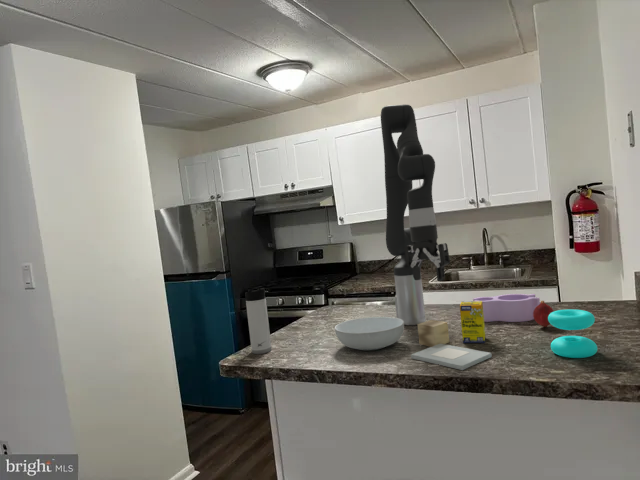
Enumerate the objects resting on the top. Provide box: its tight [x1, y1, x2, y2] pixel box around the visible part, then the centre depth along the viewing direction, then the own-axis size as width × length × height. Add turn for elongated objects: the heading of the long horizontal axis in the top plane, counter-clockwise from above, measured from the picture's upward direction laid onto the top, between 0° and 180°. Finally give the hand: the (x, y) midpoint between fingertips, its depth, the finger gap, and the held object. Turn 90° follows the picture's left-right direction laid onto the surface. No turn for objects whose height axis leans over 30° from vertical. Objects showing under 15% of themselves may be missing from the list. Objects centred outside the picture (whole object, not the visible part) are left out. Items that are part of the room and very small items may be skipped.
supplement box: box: [459, 300, 486, 344], centre depth 129 cm, size 6×6×11 cm
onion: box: [533, 300, 554, 328], centre depth 135 cm, size 6×6×8 cm
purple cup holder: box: [472, 293, 541, 323], centre depth 151 cm, size 20×12×7 cm, turn 75°
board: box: [410, 343, 493, 371], centre depth 117 cm, size 16×12×1 cm
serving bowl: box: [334, 316, 405, 351], centre depth 135 cm, size 21×21×7 cm
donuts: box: [548, 309, 598, 359], centre depth 110 cm, size 10×10×10 cm
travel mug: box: [244, 287, 272, 355], centre depth 143 cm, size 6×7×20 cm
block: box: [417, 319, 450, 347], centre depth 131 cm, size 6×6×6 cm
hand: (429, 280), depth 130 cm, fingers open, 8 cm apart
